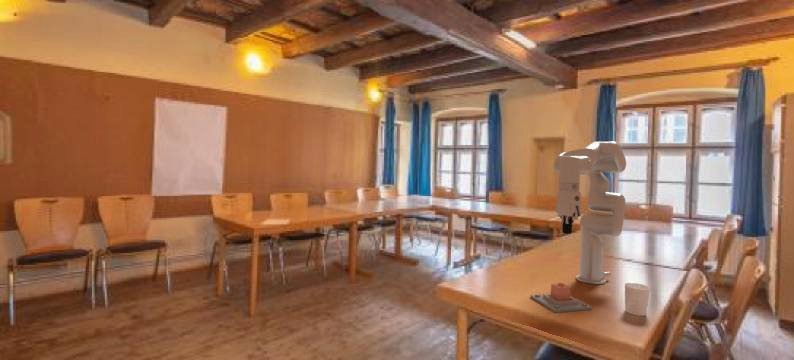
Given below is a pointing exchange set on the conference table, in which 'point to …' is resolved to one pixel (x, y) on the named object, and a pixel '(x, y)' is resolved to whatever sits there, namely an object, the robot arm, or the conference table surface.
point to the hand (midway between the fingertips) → (566, 233)
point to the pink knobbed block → (560, 292)
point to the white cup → (636, 298)
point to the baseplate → (560, 303)
